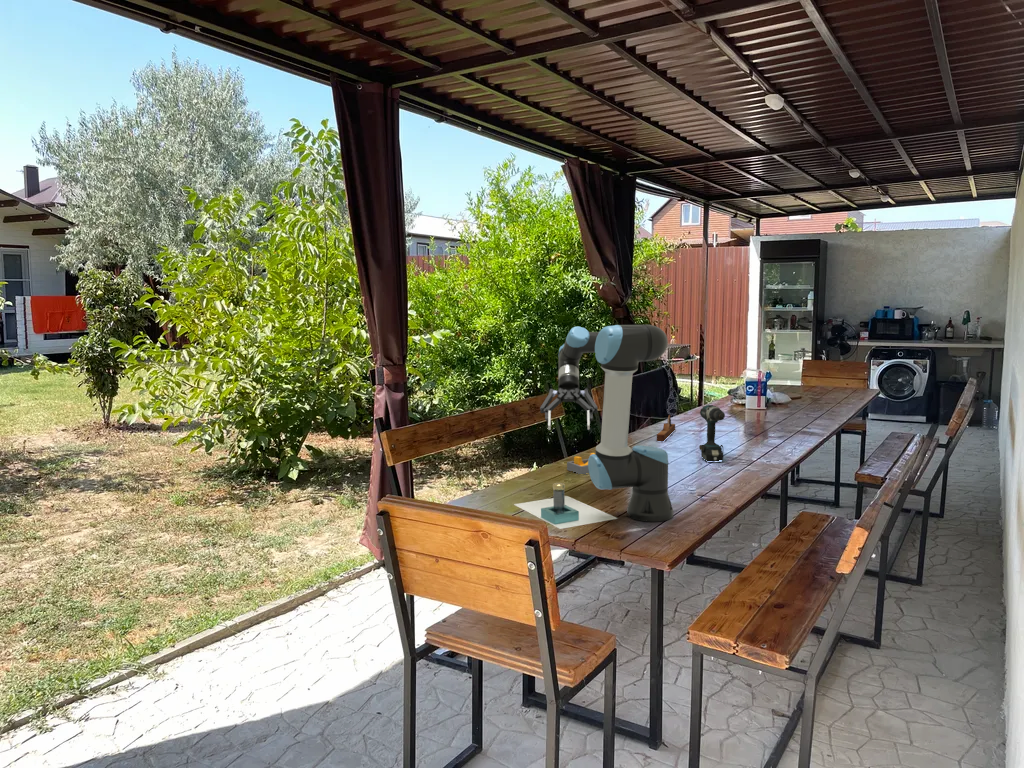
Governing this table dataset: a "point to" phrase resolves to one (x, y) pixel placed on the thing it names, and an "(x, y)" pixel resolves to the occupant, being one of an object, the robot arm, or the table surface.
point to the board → (585, 511)
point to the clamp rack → (578, 467)
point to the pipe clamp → (580, 460)
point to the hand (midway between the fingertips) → (568, 427)
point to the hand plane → (666, 430)
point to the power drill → (711, 433)
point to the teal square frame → (559, 515)
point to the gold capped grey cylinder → (559, 497)
